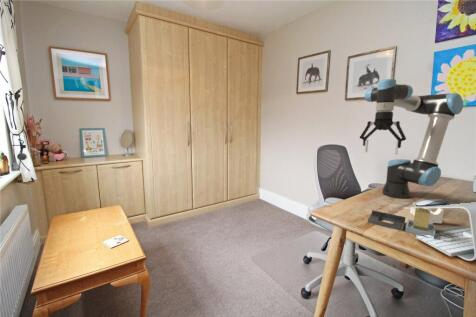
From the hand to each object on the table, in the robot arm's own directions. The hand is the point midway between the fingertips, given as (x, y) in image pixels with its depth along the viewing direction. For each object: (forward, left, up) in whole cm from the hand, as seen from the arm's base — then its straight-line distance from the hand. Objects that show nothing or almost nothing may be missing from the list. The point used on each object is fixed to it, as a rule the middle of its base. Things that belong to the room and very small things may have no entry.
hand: (380, 153), depth 121 cm
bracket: (-5, +21, -32) cm, 39 cm away
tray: (+13, +20, -32) cm, 40 cm away
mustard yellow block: (+13, +20, -31) cm, 39 cm away
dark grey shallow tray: (+13, +7, -32) cm, 35 cm away
